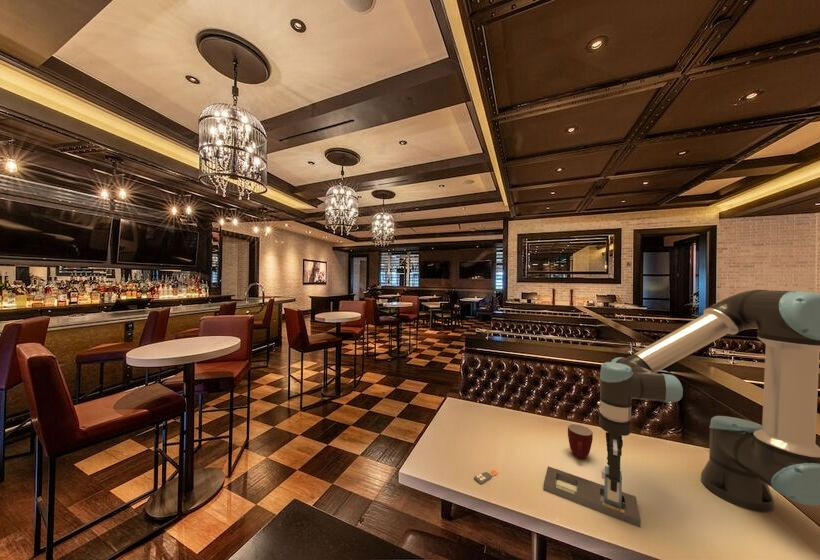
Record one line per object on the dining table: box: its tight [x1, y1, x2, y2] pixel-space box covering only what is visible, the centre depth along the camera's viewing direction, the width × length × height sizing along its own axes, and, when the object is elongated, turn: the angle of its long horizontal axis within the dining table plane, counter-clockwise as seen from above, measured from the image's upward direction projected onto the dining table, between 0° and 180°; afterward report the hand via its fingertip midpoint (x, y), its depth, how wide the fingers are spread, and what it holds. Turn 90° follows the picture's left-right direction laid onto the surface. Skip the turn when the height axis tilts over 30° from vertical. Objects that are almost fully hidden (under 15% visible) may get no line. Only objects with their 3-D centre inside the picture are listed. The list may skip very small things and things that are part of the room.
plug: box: [601, 465, 623, 508], centre depth 84 cm, size 5×4×10 cm
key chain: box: [473, 470, 502, 486], centre depth 96 cm, size 13×4×2 cm, turn 123°
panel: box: [543, 465, 642, 528], centre depth 87 cm, size 24×10×2 cm, turn 57°
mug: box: [567, 423, 594, 460], centre depth 106 cm, size 10×8×10 cm
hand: (612, 494), depth 84 cm, fingers closed on plug, 4 cm apart
